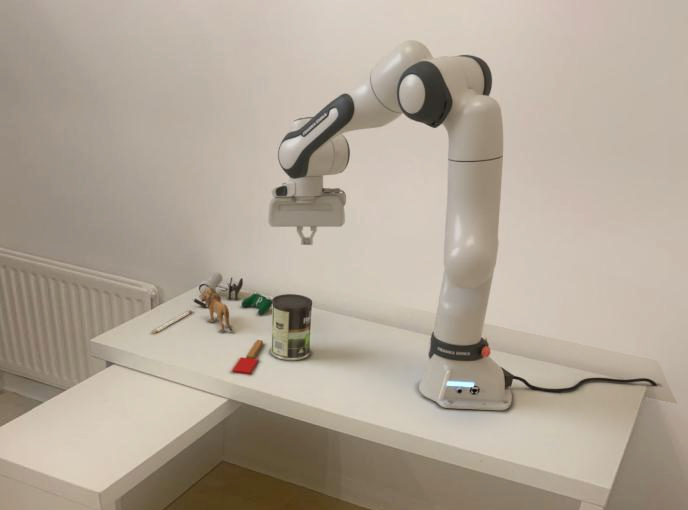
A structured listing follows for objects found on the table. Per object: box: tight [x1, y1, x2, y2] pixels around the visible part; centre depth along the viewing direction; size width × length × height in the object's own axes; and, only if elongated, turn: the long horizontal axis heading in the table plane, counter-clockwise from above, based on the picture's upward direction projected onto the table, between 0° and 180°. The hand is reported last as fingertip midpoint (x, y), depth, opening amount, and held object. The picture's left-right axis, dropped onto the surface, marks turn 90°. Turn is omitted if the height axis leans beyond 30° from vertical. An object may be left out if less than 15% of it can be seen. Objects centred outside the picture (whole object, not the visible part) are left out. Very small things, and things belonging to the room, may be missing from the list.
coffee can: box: [270, 293, 313, 361], centre depth 194 cm, size 10×10×14 cm
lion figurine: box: [198, 287, 234, 333], centre depth 209 cm, size 15×5×9 cm, turn 37°
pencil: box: [153, 310, 192, 334], centre depth 211 cm, size 1×19×1 cm, turn 154°
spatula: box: [232, 339, 264, 375], centre depth 194 cm, size 4×19×1 cm, turn 169°
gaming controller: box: [240, 290, 273, 316], centre depth 222 cm, size 9×4×6 cm
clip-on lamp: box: [191, 271, 244, 308], centre depth 226 cm, size 12×6×18 cm
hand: (307, 244), depth 200 cm, fingers closed
